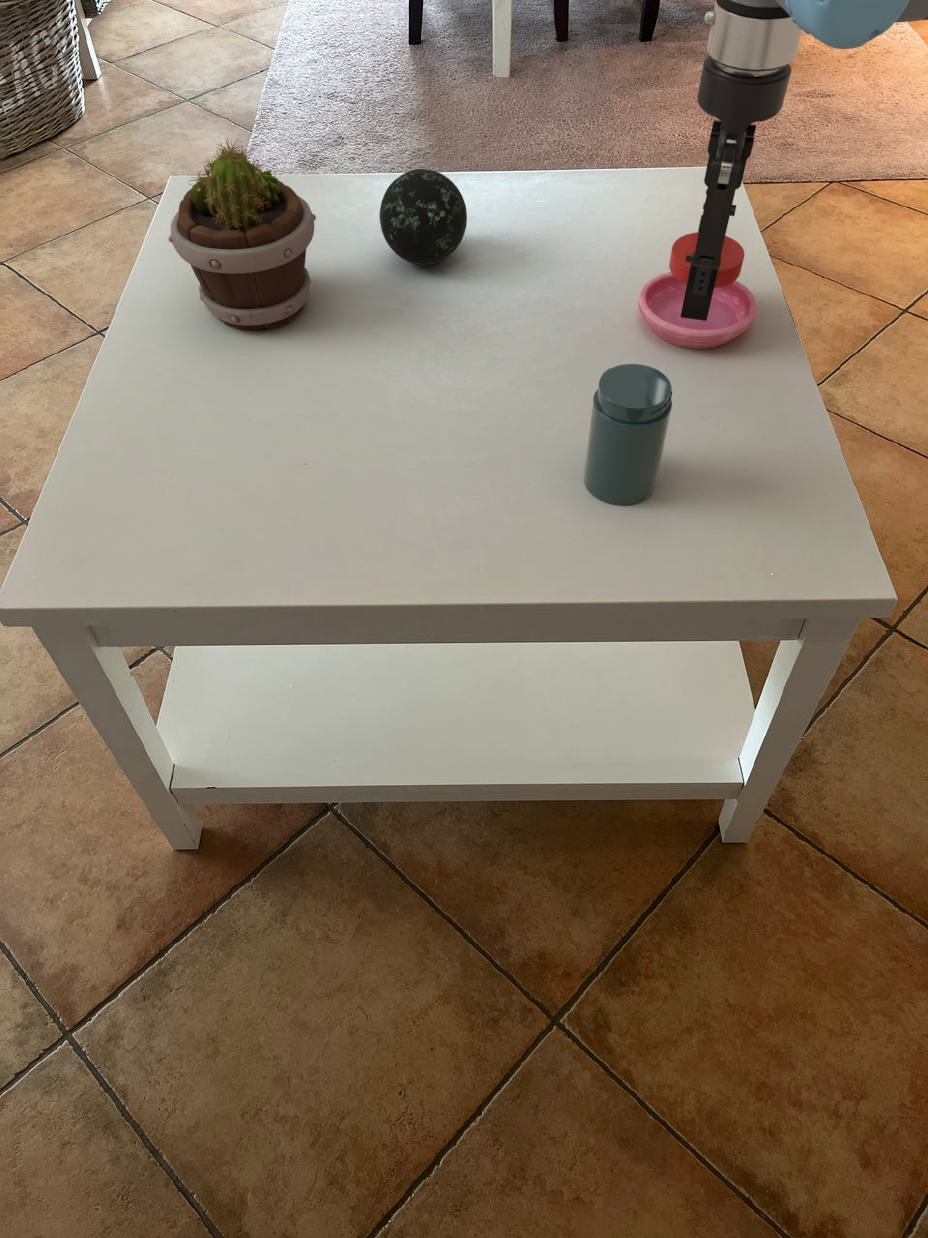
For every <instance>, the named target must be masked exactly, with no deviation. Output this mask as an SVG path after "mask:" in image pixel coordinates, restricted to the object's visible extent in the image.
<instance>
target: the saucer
mask: <svg viewBox="0 0 928 1238" xmlns="http://www.w3.org/2000/svg"><path fill="white" fill-rule="evenodd" d="M686 286H687V284H686V283H683V282H682V281H680V280H678V279H677V278H676V277H675V276H674V275H673V274H672V273H671V271H669V272H665V273H661V274H658V275H656V276H654V277H652V278H651V279H649V280H648V281H647V282H645V284H644V285H643V286H642V288H641V290H640V292H639V295H638V302H637V303H638V309H639V313H640V314H641V316H642V317H643V320H644V321H645V323H646V324H647V325H648V327H650V329H651V331H652V332H654V334H655V335H656V336H657V337H658V338H660V339H661V340H663V341H664V342H666V343H669V344H671V345H674V346H677V347H682V348H686V349H696V350H697V349H700V350H701V349H703V350H704V349H712V348H716V347H721V346H722V345H724V344H727V343H729V342H730V341H732V340H733V339H735V338H737V337H738V336H740V335H741V334H743V333H744V332H745V331H746V330H748V329H749V328H750V327H751V326H752V324H753V323H754V321H755V319H756V316H757V312H758V302H757V299H756V297H755V295H754V294H753V292H752V291H751V290H750V289H749V288H748V287H747V286H745V285H744V284H743V283H741V282H739V281H738V280H737V279H736V280H735V281H734V282H732V283H731V284H728V285H726V286H722V287H717V288H714V291H713V295H712V299H711V304H710V308H709V312H708V317H707V321H703V320H696V319H689V318H682V317H680V316H681V311H682V306H683V301H684V296H685V291H686Z"/></svg>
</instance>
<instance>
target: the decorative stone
mask: <svg viewBox="0 0 928 1238" xmlns="http://www.w3.org/2000/svg"><path fill="white" fill-rule="evenodd" d="M467 222H468V213H467V205H466V202H465V199H464V196H463V195H462V193H461V191H460V190H459V188H458V187H457V185H456V184H455V183H454V182H453V181H452V180H451V179H450V178H449V177H448V176H446V175H445V174H443V173H441V172H439V171H435V170H433V169H427V168H415V169H412V170H409V171H407V172H404V173H402V174H401V175H400V176H398V177H397V178H396V179H394V180H393V181H392V182H391V183H390V184H389V186H388V187H387V188H386V190H385V192H384V194H383V197H382V199H381V203H380V208H379V225H380V229H381V233H382V235H383V239H384V240H385V242H386V243H387V246H389V248H390V249H391V250H392V252H394V254H395V255H397V256H398V257H400V259H403V260H405V262H409V263H412V264H417V265H424V266H425V265H426V266H427V265H428V266H429V265H433V264H436V263H440V262H442V261H444V260H445V259H447V258H448V257H449V256H451V255H452V254H453V253H454V252H455V251H456V250H457V248H458V247H459V246H460V244H461V243H462V242H463V241H462V240H463V239H464V236H465V233H466V229H467V224H468V223H467Z"/></svg>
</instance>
